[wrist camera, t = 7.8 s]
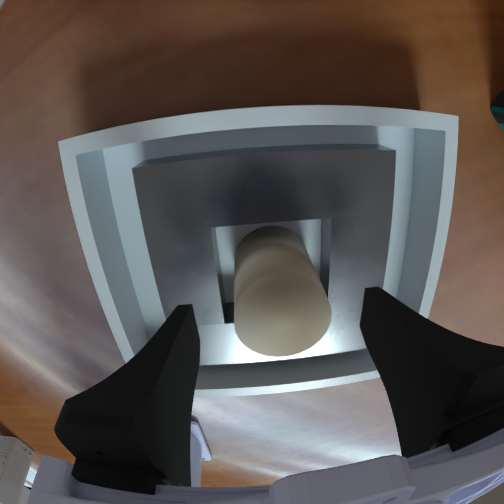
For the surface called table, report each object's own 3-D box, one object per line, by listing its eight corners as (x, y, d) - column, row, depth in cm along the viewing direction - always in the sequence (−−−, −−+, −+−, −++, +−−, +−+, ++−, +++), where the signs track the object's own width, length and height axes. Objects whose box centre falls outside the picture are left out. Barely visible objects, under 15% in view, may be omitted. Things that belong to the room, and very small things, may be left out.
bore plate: (183, 344, 20) (180, 365, 18) (144, 160, 15) (131, 168, 13) (362, 327, 20) (371, 347, 18) (379, 144, 15) (395, 150, 13)
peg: (240, 294, 18) (241, 361, 14) (229, 230, 17) (226, 287, 12) (308, 285, 18) (330, 349, 13) (304, 221, 17) (332, 273, 12)
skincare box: (16, 435, 30) (-8, 497, 19) (36, 452, 32) (17, 513, 21) (-1, 434, 31) (-23, 490, 20) (19, 450, 33) (-1, 505, 22)
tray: (151, 359, 22) (141, 396, 18) (91, 132, 14) (58, 141, 11) (392, 337, 22) (410, 370, 18) (420, 110, 14) (458, 116, 11)
